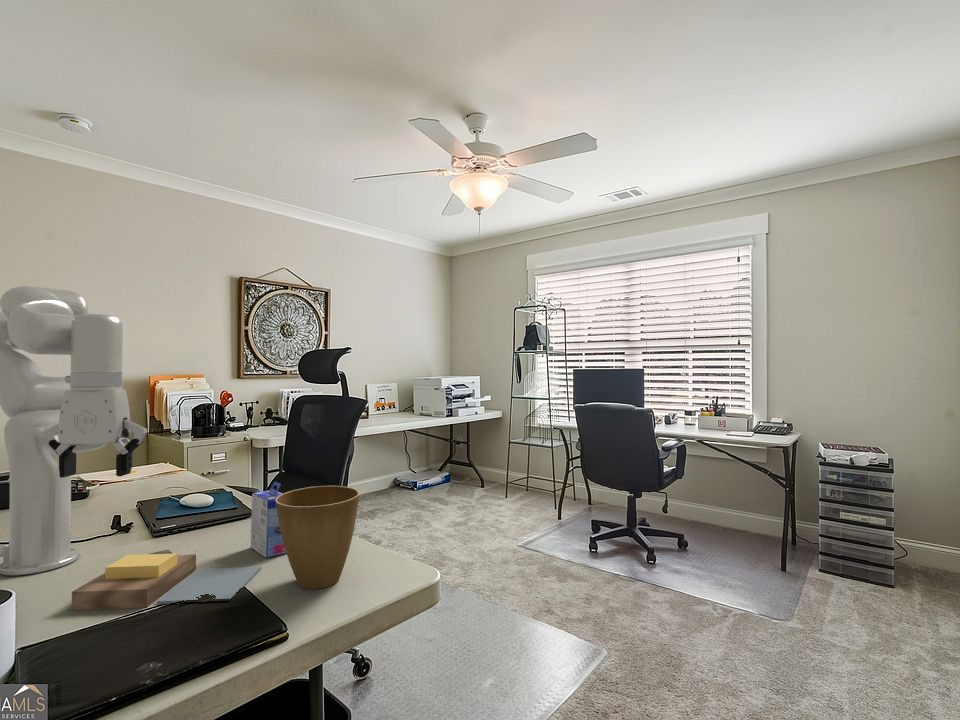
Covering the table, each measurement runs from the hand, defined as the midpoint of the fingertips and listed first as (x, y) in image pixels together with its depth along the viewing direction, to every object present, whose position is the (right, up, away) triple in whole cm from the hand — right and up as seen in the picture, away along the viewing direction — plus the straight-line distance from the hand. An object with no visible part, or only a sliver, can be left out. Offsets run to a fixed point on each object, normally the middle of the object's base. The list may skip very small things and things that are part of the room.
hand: (95, 475), depth 91 cm
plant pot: (+40, -20, +1) cm, 45 cm away
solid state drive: (+3, -21, +13) cm, 25 cm away
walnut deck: (+8, -20, -1) cm, 22 cm away
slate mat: (+21, -20, 0) cm, 29 cm away
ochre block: (+9, -17, -1) cm, 19 cm away
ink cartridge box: (+24, -21, +18) cm, 37 cm away
